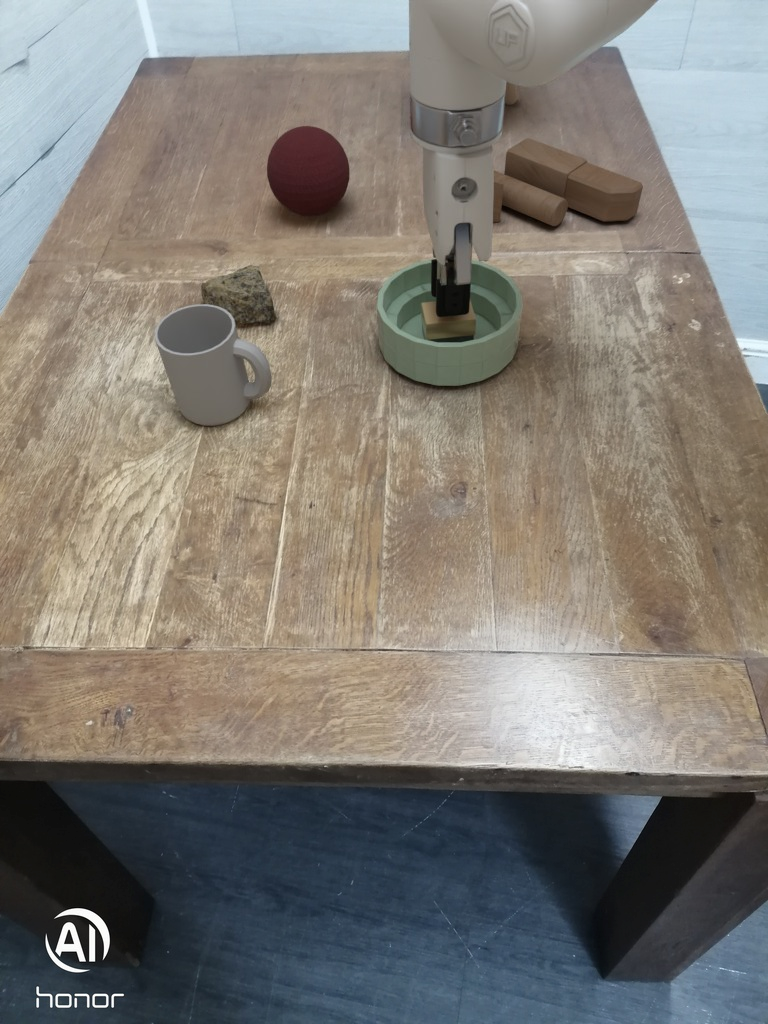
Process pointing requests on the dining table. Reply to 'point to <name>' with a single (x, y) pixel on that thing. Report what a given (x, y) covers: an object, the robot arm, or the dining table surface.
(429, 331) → the wooden stamp
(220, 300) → the rock
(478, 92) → the robot arm
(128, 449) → the dining table surface
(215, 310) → the cup
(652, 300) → the dining table surface
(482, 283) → the bowl
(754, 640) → the dining table surface
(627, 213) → the wooden block set
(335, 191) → the decorative ball
